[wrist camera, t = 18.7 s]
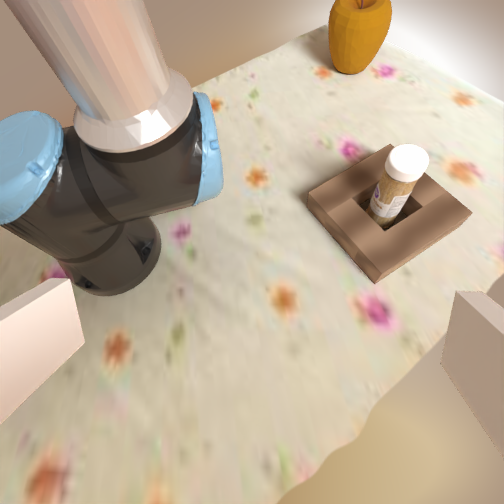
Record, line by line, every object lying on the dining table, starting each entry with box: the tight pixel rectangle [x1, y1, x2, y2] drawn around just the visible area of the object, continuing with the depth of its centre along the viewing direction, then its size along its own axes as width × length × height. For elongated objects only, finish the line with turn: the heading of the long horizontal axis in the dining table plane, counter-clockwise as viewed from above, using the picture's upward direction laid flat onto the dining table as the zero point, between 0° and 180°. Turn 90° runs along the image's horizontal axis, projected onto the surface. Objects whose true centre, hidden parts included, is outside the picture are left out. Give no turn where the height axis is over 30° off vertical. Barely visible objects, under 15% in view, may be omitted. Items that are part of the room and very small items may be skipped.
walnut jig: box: [307, 144, 472, 284], centre depth 47 cm, size 16×16×4 cm
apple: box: [329, 0, 392, 74], centre depth 59 cm, size 11×11×13 cm
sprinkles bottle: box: [366, 144, 429, 229], centre depth 43 cm, size 5×5×14 cm
